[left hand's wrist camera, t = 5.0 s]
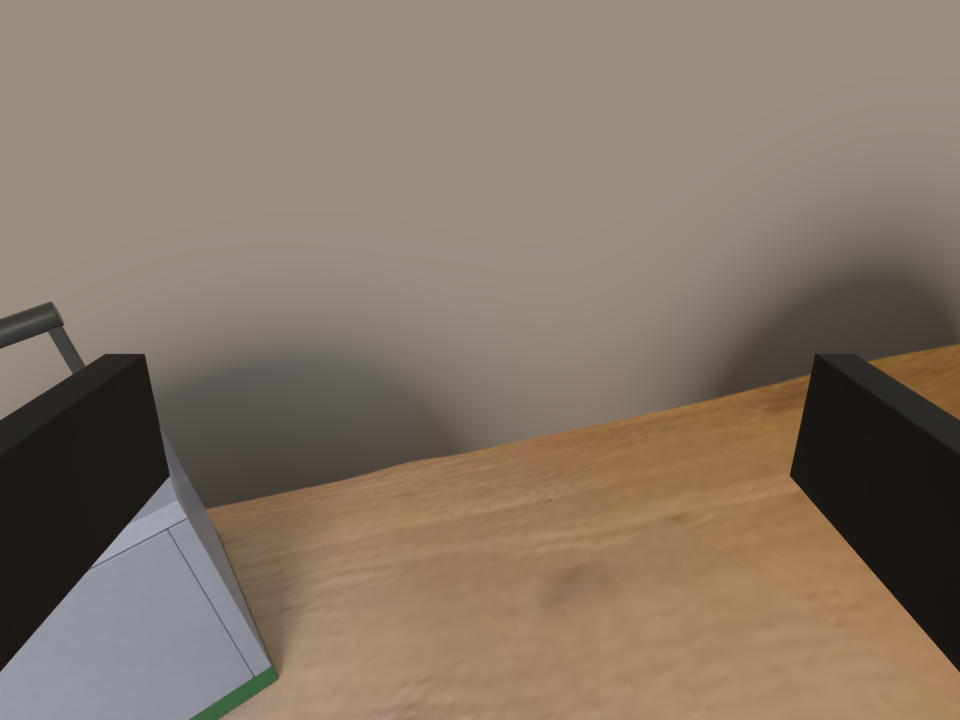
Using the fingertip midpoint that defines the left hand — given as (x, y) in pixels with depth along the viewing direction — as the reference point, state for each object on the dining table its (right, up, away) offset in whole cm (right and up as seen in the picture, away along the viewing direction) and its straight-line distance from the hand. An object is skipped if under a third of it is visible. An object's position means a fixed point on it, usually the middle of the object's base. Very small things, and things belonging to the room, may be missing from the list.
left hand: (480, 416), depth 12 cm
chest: (-19, -15, +23) cm, 33 cm away
